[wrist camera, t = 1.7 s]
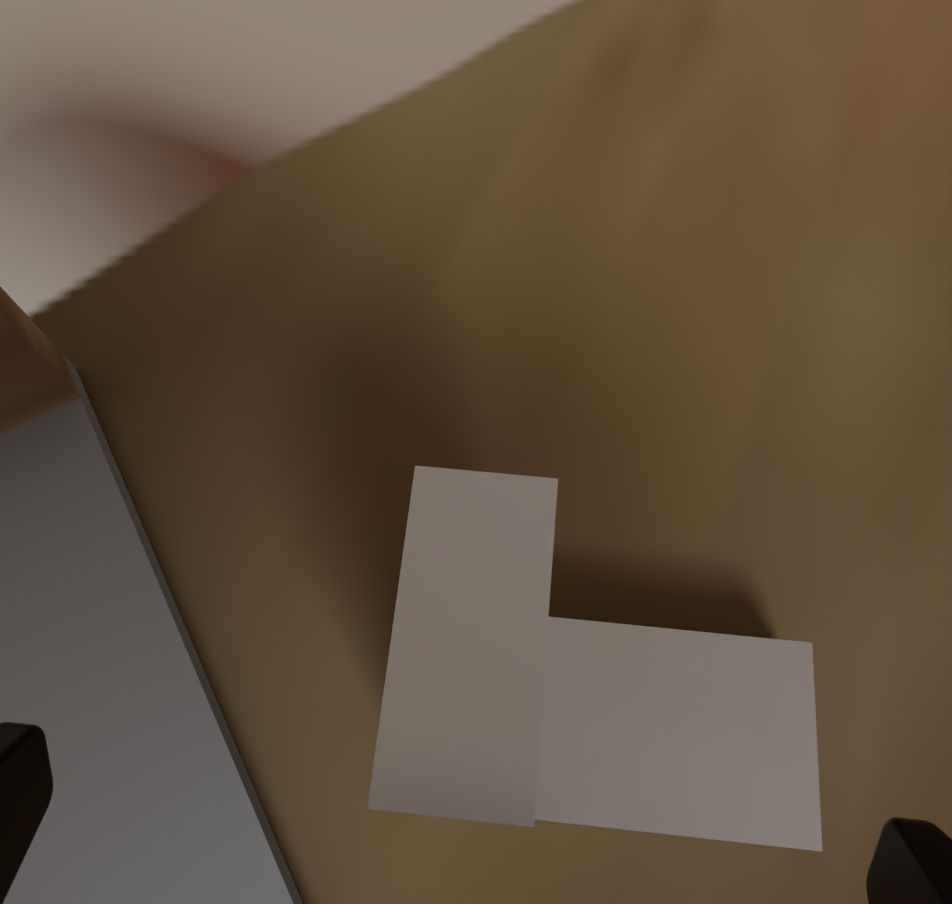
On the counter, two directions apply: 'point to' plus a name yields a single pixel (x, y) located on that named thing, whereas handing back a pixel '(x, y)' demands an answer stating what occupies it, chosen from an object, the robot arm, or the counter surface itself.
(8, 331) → the walls
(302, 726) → the counter surface
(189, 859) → the mat
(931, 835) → the robot arm
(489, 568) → the bracket
